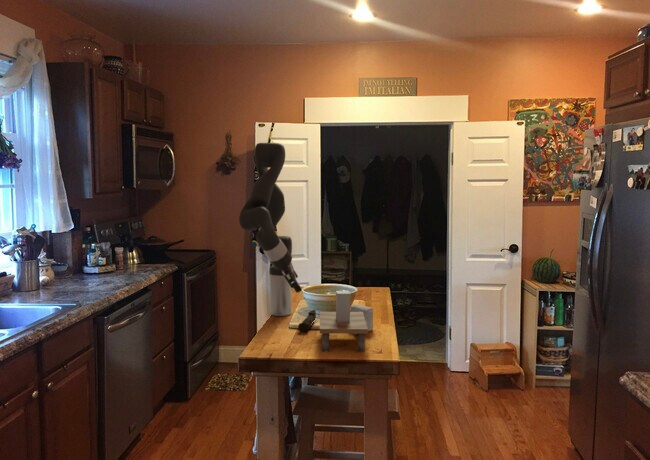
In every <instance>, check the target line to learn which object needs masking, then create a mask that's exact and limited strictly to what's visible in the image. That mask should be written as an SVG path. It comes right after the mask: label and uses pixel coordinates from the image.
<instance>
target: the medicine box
mask: <svg viewBox="0 0 650 460" xmlns="http://www.w3.org/2000/svg"><path fill="white" fill-rule="evenodd" d="M350 312H363V314H364V317H365V321H366V324H367V328H368V332H370V331H373V330H374V308H373V307H370V306H366V305H361V304H356V305H352V306H351V305H350Z"/></svg>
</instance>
